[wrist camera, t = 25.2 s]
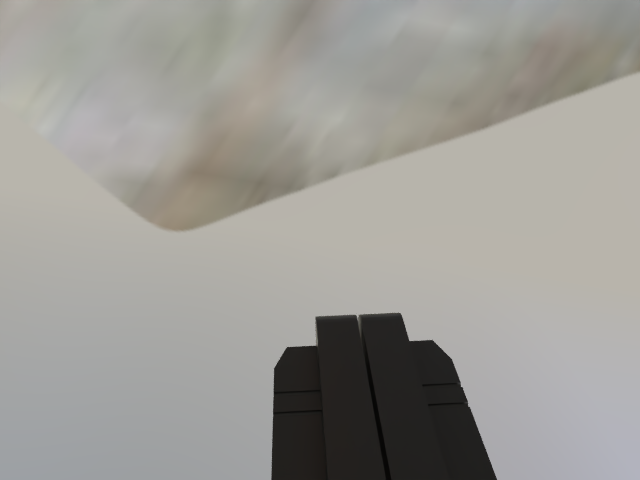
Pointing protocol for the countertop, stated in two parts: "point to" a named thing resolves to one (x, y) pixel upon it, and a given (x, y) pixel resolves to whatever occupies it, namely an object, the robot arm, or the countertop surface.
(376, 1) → the countertop surface
